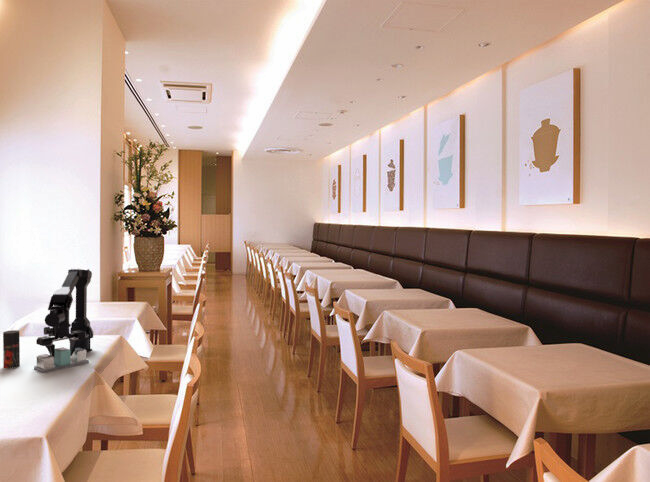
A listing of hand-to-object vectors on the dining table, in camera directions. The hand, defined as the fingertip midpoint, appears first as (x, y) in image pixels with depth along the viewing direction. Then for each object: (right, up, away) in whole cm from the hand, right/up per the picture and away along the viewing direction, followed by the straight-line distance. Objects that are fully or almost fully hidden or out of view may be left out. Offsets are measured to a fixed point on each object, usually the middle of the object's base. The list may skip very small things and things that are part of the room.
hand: (62, 357), depth 216 cm
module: (0, -3, 0) cm, 2 cm away
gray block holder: (0, -4, 0) cm, 4 cm away
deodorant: (-20, -4, -2) cm, 21 cm away
